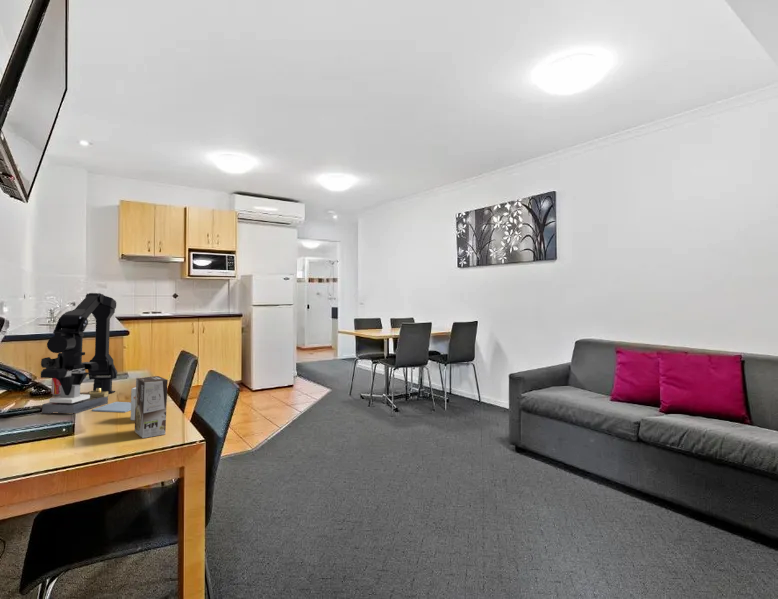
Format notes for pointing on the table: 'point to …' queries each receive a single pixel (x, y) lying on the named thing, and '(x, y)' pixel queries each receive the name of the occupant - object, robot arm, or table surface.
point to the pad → (115, 407)
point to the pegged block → (98, 393)
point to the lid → (70, 396)
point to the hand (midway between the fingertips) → (70, 394)
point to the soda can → (56, 387)
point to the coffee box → (150, 406)
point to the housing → (74, 405)
